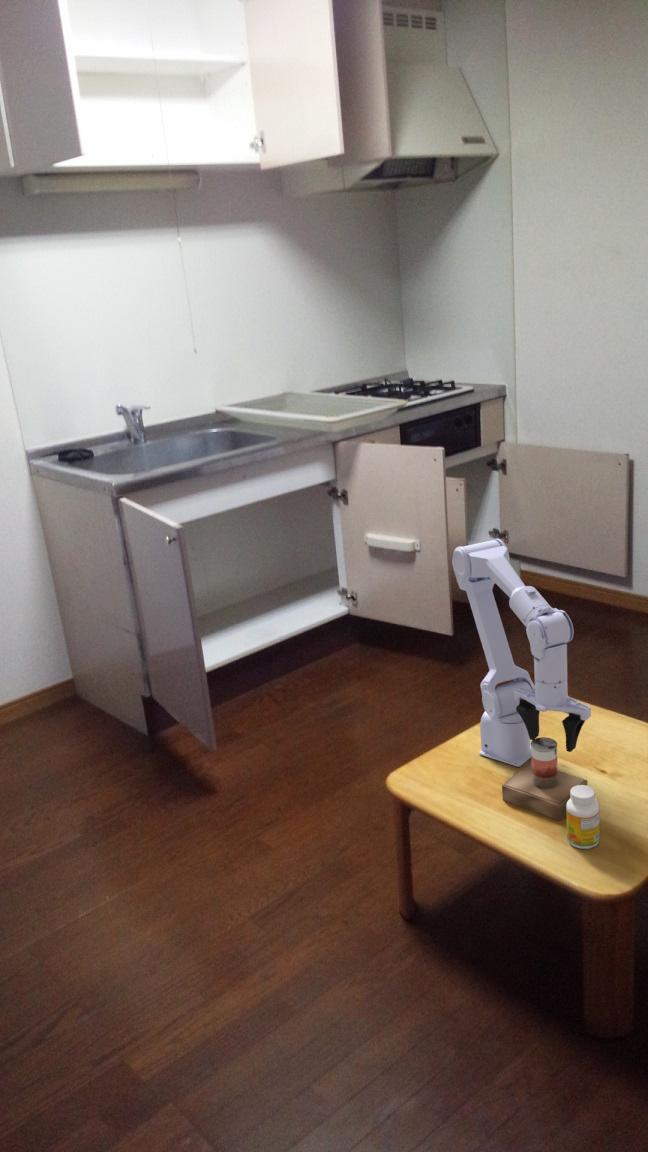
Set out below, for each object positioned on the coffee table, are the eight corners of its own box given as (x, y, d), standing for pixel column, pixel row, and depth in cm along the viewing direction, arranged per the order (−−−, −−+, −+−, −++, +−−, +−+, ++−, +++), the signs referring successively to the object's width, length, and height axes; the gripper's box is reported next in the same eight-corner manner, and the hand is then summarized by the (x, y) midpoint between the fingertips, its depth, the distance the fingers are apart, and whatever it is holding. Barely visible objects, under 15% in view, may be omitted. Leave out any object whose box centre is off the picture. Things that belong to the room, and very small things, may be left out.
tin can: (527, 783, 166) (525, 745, 164) (540, 772, 169) (539, 734, 167) (549, 791, 163) (548, 753, 160) (563, 780, 166) (562, 742, 163)
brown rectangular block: (502, 799, 168) (501, 785, 167) (530, 775, 174) (529, 761, 173) (561, 820, 160) (560, 805, 159) (587, 794, 166) (587, 779, 165)
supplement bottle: (562, 833, 156) (561, 784, 153) (592, 828, 156) (592, 780, 153) (573, 851, 151) (572, 802, 148) (604, 847, 151) (604, 797, 148)
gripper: (503, 676, 164) (506, 741, 168) (576, 695, 154) (577, 764, 158) (524, 661, 168) (526, 725, 173) (596, 679, 158) (596, 747, 163)
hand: (552, 743), depth 166 cm, fingers open, 7 cm apart
